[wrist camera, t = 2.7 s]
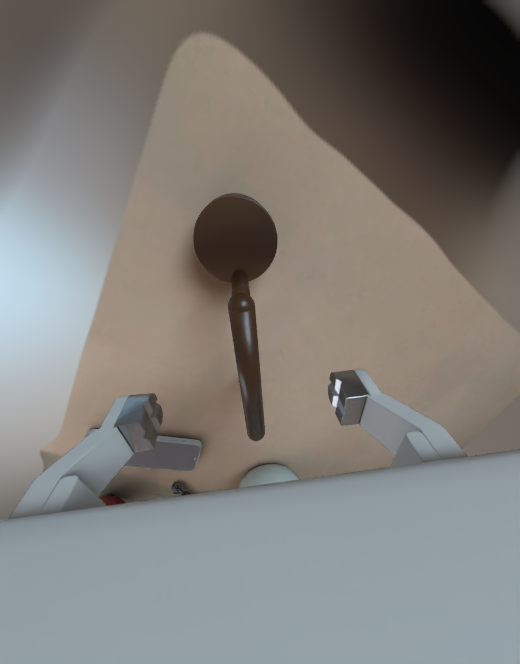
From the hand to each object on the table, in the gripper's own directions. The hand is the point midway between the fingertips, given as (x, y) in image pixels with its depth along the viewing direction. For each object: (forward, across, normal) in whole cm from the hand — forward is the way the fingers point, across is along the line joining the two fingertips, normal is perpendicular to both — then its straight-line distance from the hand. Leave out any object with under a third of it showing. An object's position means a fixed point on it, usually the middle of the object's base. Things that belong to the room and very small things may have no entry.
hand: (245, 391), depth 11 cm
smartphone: (+13, +16, +23) cm, 31 cm away
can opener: (+13, +13, +38) cm, 42 cm away
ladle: (+13, 0, +2) cm, 13 cm away
